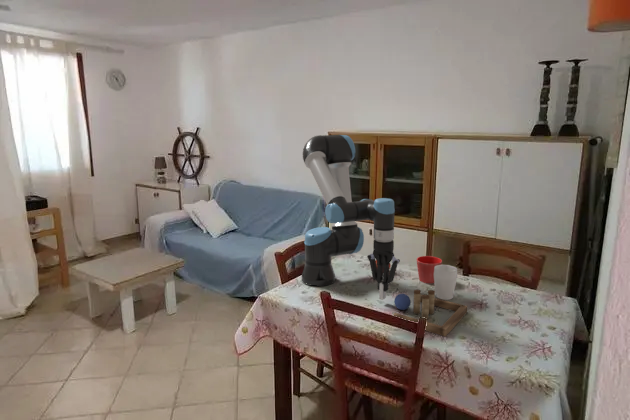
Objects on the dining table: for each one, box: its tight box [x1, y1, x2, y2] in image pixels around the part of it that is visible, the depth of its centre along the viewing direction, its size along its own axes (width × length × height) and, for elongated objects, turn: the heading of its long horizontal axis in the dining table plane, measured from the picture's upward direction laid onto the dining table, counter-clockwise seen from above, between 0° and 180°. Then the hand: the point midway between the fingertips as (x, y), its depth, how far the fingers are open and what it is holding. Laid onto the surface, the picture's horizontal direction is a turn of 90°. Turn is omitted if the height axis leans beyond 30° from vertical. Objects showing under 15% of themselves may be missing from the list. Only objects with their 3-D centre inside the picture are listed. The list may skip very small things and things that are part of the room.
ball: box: [393, 293, 411, 311], centre depth 157 cm, size 6×6×6 cm
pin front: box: [412, 289, 422, 315], centre depth 154 cm, size 2×2×9 cm
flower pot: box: [416, 255, 443, 284], centre depth 184 cm, size 11×11×10 cm
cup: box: [433, 264, 458, 301], centre depth 167 cm, size 9×9×12 cm
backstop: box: [392, 294, 468, 338], centre depth 151 cm, size 19×22×2 cm
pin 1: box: [421, 293, 430, 321], centre depth 149 cm, size 2×2×9 cm
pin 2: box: [427, 289, 436, 315], centre depth 153 cm, size 2×2×9 cm
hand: (382, 298), depth 162 cm, fingers closed
